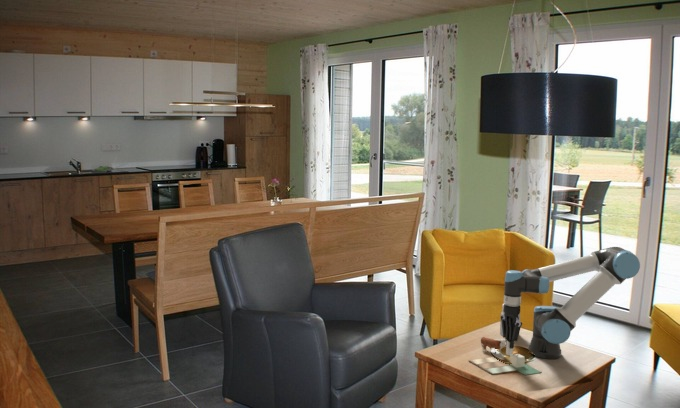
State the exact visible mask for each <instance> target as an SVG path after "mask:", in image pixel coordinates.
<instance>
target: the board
mask: <svg viewBox="0 0 680 408" xmlns="http://www.w3.org/2000/svg"><path fill="white" fill-rule="evenodd" d="M496 358H497V357H495V358H494V356H491V357H483V358H476V359H470V360H468V362H469V363H470V364H473V365H474V366H476V367H477V368H479V369H481V370H483V371H484V372H486V373H488V374H490V375H491V376H495V375H496V376H497V375H502V374H509V373H517V372H518V371H519V370H517V369H516V368H514V367H512V366H510V365H508V364H505V363H506V362H504V361H502V360H500V359H498V358H497V359H498V360H497V359H496ZM499 360H500V361H499ZM501 361H502V362H501ZM503 362H504V363H503Z"/></svg>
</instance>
